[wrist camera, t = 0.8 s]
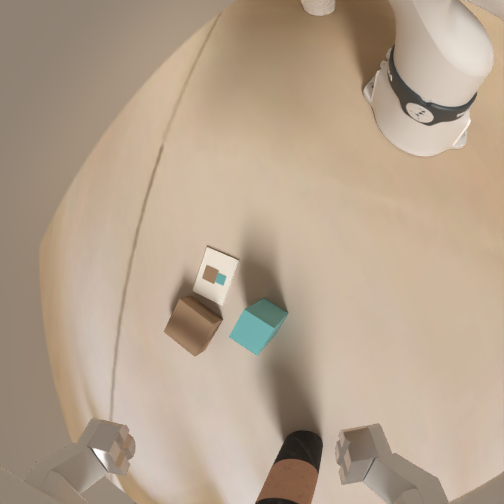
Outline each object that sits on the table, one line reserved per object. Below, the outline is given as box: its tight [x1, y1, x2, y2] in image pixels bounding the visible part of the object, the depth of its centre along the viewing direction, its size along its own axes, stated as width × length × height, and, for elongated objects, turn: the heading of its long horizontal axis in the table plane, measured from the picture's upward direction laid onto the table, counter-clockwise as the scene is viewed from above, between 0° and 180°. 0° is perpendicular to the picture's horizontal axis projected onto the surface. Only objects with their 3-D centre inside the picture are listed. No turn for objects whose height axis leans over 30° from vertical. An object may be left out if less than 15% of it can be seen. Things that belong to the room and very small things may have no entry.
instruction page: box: [193, 247, 239, 306], centre depth 47 cm, size 8×6×1 cm
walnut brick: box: [164, 296, 223, 356], centre depth 47 cm, size 7×7×4 cm
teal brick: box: [229, 298, 288, 355], centre depth 40 cm, size 4×4×9 cm
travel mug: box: [255, 431, 323, 504], centre depth 33 cm, size 8×8×20 cm
